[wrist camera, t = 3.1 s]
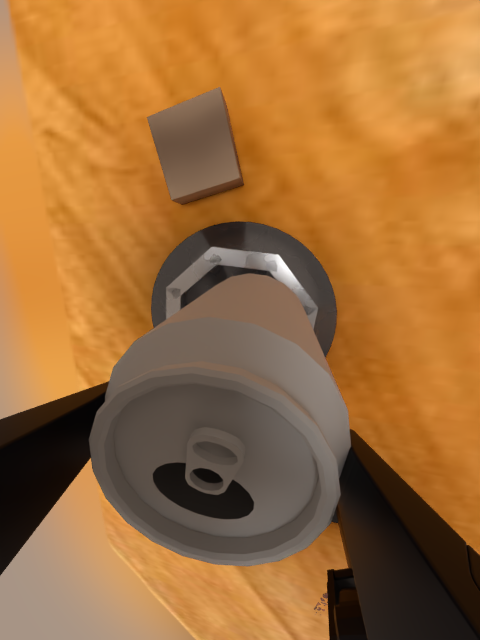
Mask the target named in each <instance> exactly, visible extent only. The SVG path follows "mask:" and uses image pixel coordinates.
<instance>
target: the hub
mask: <svg viewBox="0 0 480 640" xmlns="http://www.w3.org/2000/svg"><path fill="white" fill-rule="evenodd" d="M248 273H251V274H258V275H266V276H269V277H271V278H273V279H275V280H277V281H280V282H282V283H284V284H285V285H286V286H287V287H288V288H289V289H290V290H291V291H292V292H293V293H294V294H295V295H296V296H297V297H298V298H299V300H300V302H301V304H302V306H303V308H304V310H305V312H306V314H307V317H308V319H309V321H310V324H311V326H312V328H313V331H314V333H315V335H316V338H317V340H318V342H319V344H320V347H321V349H322V351H323V354H324V356H325V357H326V355H327V353H328V351H329V349H330V347H331V344H332V341H333V338H334V334H335V328H336V316H337V310H336V301H335V296H334V292H333V288H332V285H331V283H330V281H329V278H328V276H327V274H326V272H325V270H324V269H323V267H322V265H321V264H320V262H319V261H318V260H317V259H316V257H315V256H314V255H313V254H312V253H311V252H310V251H309V250H308V249H307V248H306V247H305V246H304V245H303V244H302V243H301V242H299V241H298V240H296V239H295V238H293V237H292V236H290V235H289V234H286V233H284V232H282V231H280V230H278V229H276V228H273V227H270V226H267V225H264V224H258V223H252V222H228V223H221V224H218V225H214V226H210V227H208V228H205V229H203V230H200V231H198V232H196V233H195V234H193V235H191V236H190V237H188V238H187V239H185V240H184V241H183V242H182V243H181V244H179V245H178V246H177V247H176V248H175V249H174V250H173V252H172V253H171V254H170V255H169V256H168V258H167V259H166V261H165V262H164V264H163V265H162V267H161V269H160V271H159V273H158V275H157V278H156V281H155V284H154V288H153V294H152V304H151V312H152V321H153V326H154V328H155V327H156V326H158V325H159V324H161V323H162V322H164V321H165V320H166V319H168V318H169V317H171V316H172V315H174V314H175V313H177V312H178V311H179V310H181V309H182V308H184V307H185V306H187V305H188V304H190V303H191V302H192V301H194V300H195V299H197V298H198V297H200V296H201V295H203V294H204V293H206V292H207V291H208V290H210V289H211V288H213V287H214V286H216V285H217V284H219V283H221V282H223V281H224V280H226V279H228V278H230V277H232V276H238V275H243V274H248Z"/></svg>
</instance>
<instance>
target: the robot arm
mask: <svg viewBox="0 0 480 640" xmlns="http://www.w3.org/2000/svg"><path fill="white" fill-rule="evenodd" d="M108 384H109V382H106V383H103V384H100V385H97V386H94V387H92V388H89V389H86V390H83V391H80V392H77V393H75V394H72V395H69V396H66V397H63V398H60V399H57V400H55V401H52V402H49V403H46V404H43V405H40V406H37V407H35V408H32V409H29V410H26V411H23V412H20V413H17V414H15V415H12V416H9V417H6V418H3V419H1V420H0V575H1V574H2V573H3V571H4V570H5V569H6V567H7V566H8V565H9V564H10V562H11V561H12V560H13V558H14V557H15V556H16V554H17V553H18V552H19V551H20V549H21V548H22V547H23V545H24V544H25V543H26V541H27V540H28V539H29V537H30V536H31V535H32V534H33V532H34V531H35V530H36V528H37V527H38V526H39V524H40V523H41V522H42V520H43V519H44V518H45V516H46V515H47V514H48V513H49V511H50V510H51V509H52V507H53V506H54V505H55V504H56V502H57V501H58V500H59V498H60V497H61V496H62V494H63V493H64V492H65V491H66V489H67V488H68V487H69V485H70V484H71V483H72V481H73V480H74V479H75V477H76V476H77V475H78V474H79V472H80V471H81V469H82V468H83V467H84V466H85V464H86V463H87V462H88V461H89V459H90V458H91V453H90V445H89V437H90V433H91V430H92V426H93V423H94V419H95V416H96V412H97V411H98V409H99V408H100V407H101V406H102V405H103V404H104V402H105V394H106V391H107V388H108ZM350 440H351V447H350V449H349V452H348V455H347V458H346V461H345V464H344V467H343V470H342V472H341V475H340V478H339V485H340V494H341V495H340V498H339V501H338V504H337V506H336V509H335V512H334V515H333V518H332V521H331V522H335V523H338V524H339V528H340V533H341V537H342V542H343V546H344V551H345V555H346V559H347V564H348V568H347V569H341V570H334V569H331V570H327V575H328V582H327V593H328V614H329V636H330V640H480V555H479V554H478V553H477V552H476V551H475V550H474V549H473V548H472V547H471V546H469V545H466V542H465V541H464V540H463V539H462V538H461V537H460V536H459V535H458V534H457V533H456V532H455V531H454V530H453V529H452V528H451V527H450V526H449V525H448V524H447V523H446V522H445V521H444V520H443V519H442V518H441V517H440V516H439V515H438V514H437V513H436V512H435V511H434V510H433V509H432V508H431V507H430V506H429V505H428V504H427V503H426V502H425V501H424V500H423V499H422V498H421V497H420V496H419V495H418V494H417V493H416V492H415V491H414V490H413V489H412V488H411V487H410V486H409V485H408V484H407V483H406V482H405V481H404V480H403V479H402V478H401V477H400V476H399V475H398V474H397V473H396V472H395V471H394V470H393V469H392V468H391V467H390V466H389V465H388V464H387V463H386V462H385V461H384V460H383V459H382V458H381V457H380V456H379V455H378V454H377V453H376V452H375V451H374V450H373V449H372V448H371V447H370V446H369V445H368V444H367V443H366V442H365V441H364V440H363V439H362V438H361V437H360V436H359V435H358V434H357V433H356V432H355V431H353V430H352V429H350Z"/></svg>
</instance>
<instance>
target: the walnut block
mask: <svg viewBox="0 0 480 640" xmlns="http://www.w3.org/2000/svg"><path fill="white" fill-rule="evenodd" d="M147 119H148V123H149V126H150V129H151V133H152V136H153V139H154V143H155V146H156V149H157V153H158V156H159V160H160V163H161V166H162V170H163V173H164V176H165V180H166V183H167V187H168V190H169V193H170V197H171V200H173V201H175V202H177V203H180V204H185V203H188V202H191V201H195V200H198V199H201V198H204V197H207V196H210V195H214V194H217V193H220V192H223V191H226V190H229V189H232V188H236V187H239V186H242V185H244V184H243V179H242V174H241V170H240V165H239V161H238V156H237V151H236V147H235V142H234V137H233V133H232V128H231V124H230V119H229V114H228V110H227V105H226V102H225V100H224V97H223V94H222V91H221V88H220V87H218V88H216V89H214V90H211V91H209V92H206V93H204V94H202V95H199V96H197V97H194V98H192V99H190V100H187V101H185V102H182V103H180V104H177V105H175V106H173V107H170V108H168V109H165V110H163V111H161V112H158V113H156V114H153V115H151V116H149V117H147Z"/></svg>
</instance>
